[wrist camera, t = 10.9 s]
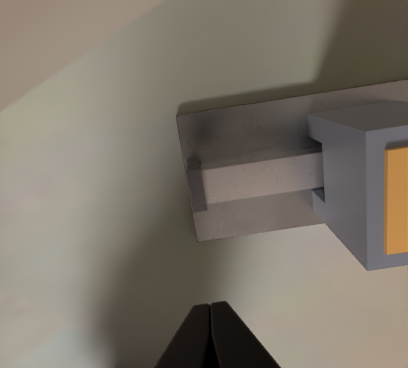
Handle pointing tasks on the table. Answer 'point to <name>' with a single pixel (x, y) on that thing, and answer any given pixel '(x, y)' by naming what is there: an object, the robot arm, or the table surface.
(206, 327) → the robot arm
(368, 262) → the grey slider block
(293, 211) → the rail
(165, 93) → the table surface
